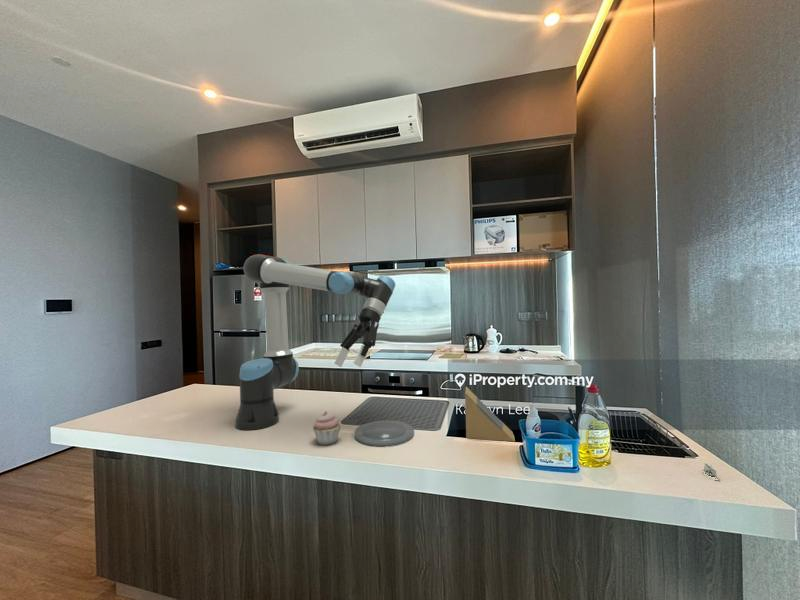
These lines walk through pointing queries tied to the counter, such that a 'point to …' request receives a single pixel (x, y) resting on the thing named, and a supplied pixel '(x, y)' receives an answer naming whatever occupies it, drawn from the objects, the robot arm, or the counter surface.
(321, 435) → the cupcake
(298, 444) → the counter surface
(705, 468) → the small metal piece
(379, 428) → the slate plate
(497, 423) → the sandwich container
